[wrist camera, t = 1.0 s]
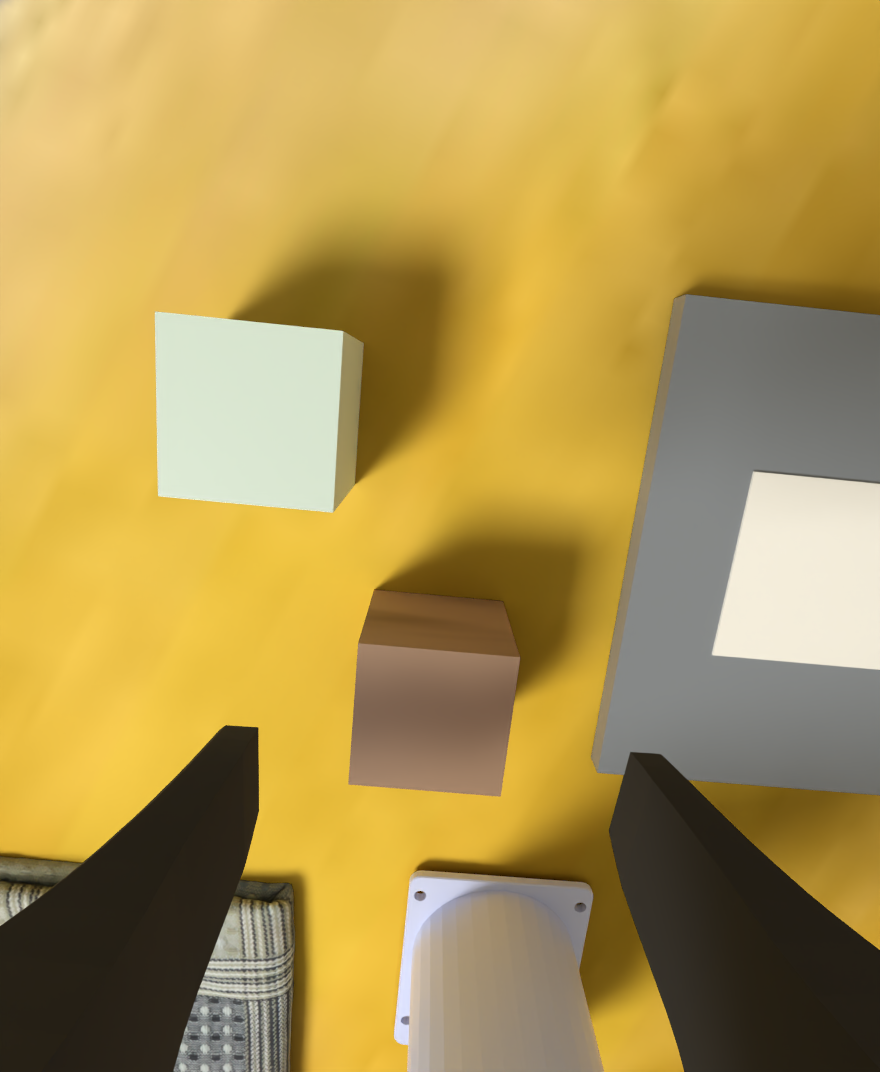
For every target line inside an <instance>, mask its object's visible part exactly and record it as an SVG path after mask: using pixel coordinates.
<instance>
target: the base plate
mask: <svg viewBox="0 0 880 1072" xmlns="http://www.w3.org/2000/svg"><path fill="white" fill-rule="evenodd" d="M630 752H640V753H655V754H661V755H662V756H663V757H665V758H666V759H667V760H668V761H669V762H670V763H671V764H672V765H673V766H674V767H675V768H676V769H677V770H678V771H679V772H680V773H681V774H682V775H683V776H684V777H685V778H686V779H687V780H695V781H707V782H720V783H732V784H745V785H757V786H770V787H782V788H795V789H807V790H820V791H833V792H845V793H858V794H870V795H880V315H874V314H864V313H855V312H846V311H836V310H827V309H818V308H809V307H799V306H790V305H781V304H771V303H762V302H753V301H743V300H734V299H725V298H716V297H706V296H697V295H688V294H686V295H683V296H680V297H677V298H675V299H674V303H673V308H672V314H671V320H670V325H669V331H668V336H667V342H666V347H665V353H664V358H663V364H662V369H661V375H660V380H659V386H658V391H657V397H656V402H655V408H654V413H653V419H652V424H651V430H650V435H649V441H648V446H647V452H646V457H645V463H644V468H643V474H642V479H641V485H640V490H639V496H638V501H637V507H636V512H635V518H634V523H633V529H632V534H631V540H630V546H629V551H628V557H627V562H626V568H625V573H624V579H623V584H622V590H621V595H620V601H619V606H618V612H617V617H616V623H615V628H614V634H613V639H612V645H611V650H610V656H609V661H608V667H607V672H606V678H605V683H604V689H603V694H602V700H601V705H600V711H599V716H598V722H597V727H596V733H595V738H594V744H593V749H592V755H591V759H592V761H593V763H594V766H595V768H596V771H597V773H607V774H620V775H624V773H625V770H626V766H627V762H628V758H629V755H630Z"/></svg>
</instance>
